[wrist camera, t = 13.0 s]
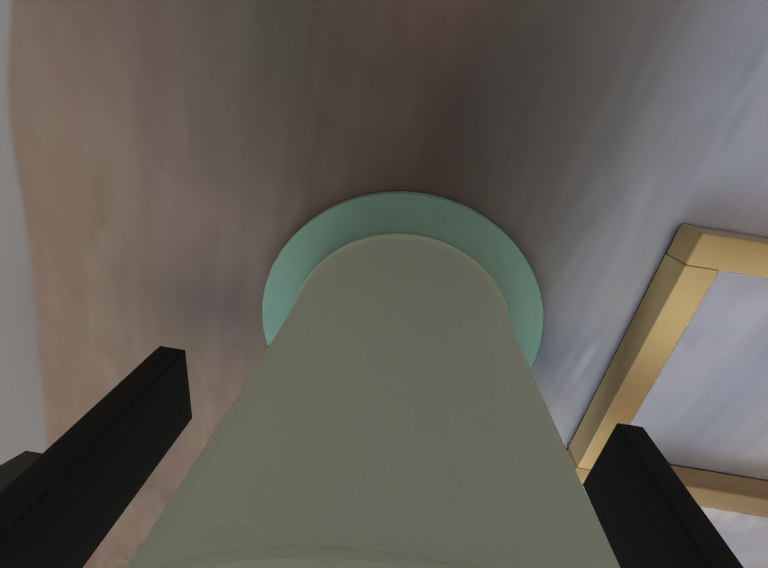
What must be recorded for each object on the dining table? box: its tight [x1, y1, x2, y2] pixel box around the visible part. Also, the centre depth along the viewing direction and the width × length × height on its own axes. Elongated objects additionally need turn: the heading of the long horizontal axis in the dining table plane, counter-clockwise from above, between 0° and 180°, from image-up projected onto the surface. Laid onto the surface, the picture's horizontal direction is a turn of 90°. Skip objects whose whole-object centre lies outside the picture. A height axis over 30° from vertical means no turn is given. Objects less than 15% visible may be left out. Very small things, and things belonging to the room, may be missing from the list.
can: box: [126, 233, 620, 568], centre depth 11 cm, size 9×9×12 cm
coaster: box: [262, 191, 543, 369], centre depth 16 cm, size 12×12×1 cm
